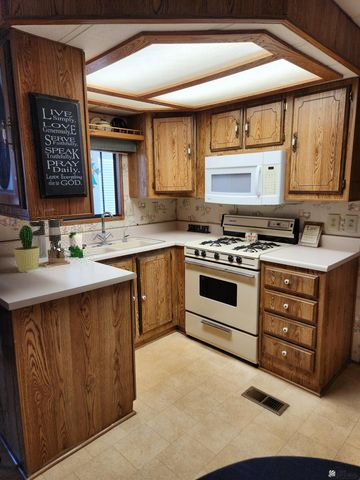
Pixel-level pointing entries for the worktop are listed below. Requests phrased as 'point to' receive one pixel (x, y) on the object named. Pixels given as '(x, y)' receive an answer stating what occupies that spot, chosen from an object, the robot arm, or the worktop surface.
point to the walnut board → (52, 256)
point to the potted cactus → (26, 251)
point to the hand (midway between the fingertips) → (56, 257)
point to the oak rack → (55, 264)
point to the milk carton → (76, 245)
